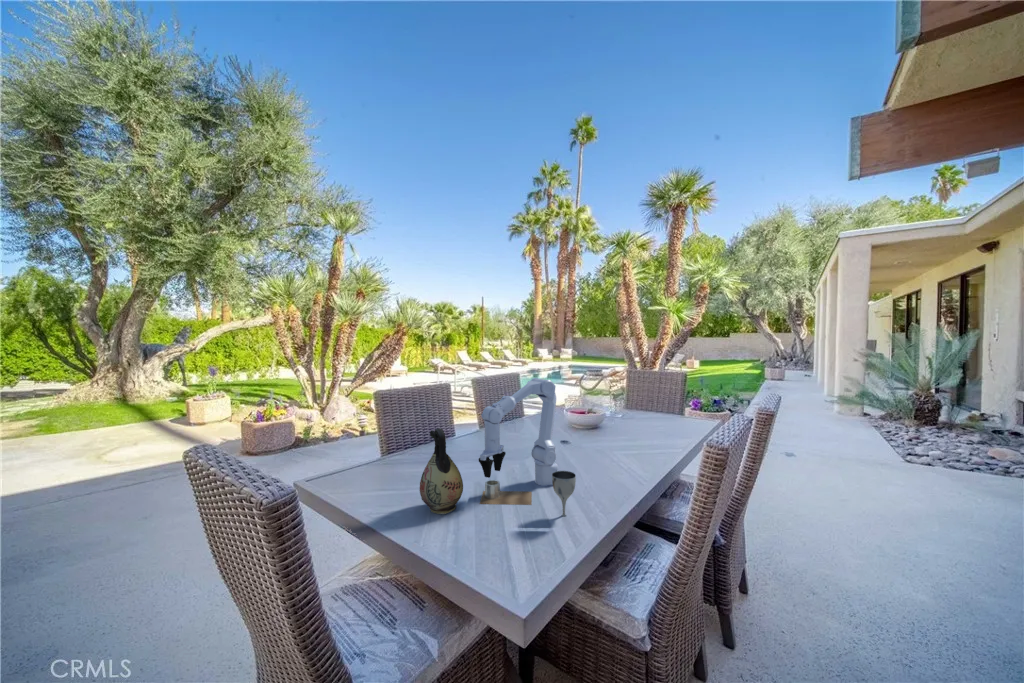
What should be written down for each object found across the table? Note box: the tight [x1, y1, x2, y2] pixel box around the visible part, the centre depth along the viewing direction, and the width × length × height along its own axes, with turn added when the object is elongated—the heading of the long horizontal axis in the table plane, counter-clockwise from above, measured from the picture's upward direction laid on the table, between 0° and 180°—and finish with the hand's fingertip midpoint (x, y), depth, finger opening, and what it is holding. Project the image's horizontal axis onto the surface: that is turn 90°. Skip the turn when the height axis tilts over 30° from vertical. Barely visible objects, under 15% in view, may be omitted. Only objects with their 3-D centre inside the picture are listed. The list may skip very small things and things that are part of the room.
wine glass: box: [552, 470, 577, 518], centre depth 136 cm, size 8×8×15 cm
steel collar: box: [484, 479, 501, 499], centre depth 153 cm, size 6×6×5 cm
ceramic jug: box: [419, 427, 464, 515], centre depth 143 cm, size 17×15×30 cm
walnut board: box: [479, 490, 533, 506], centre depth 151 cm, size 19×12×1 cm, turn 87°
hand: (492, 473), depth 153 cm, fingers open, 7 cm apart
